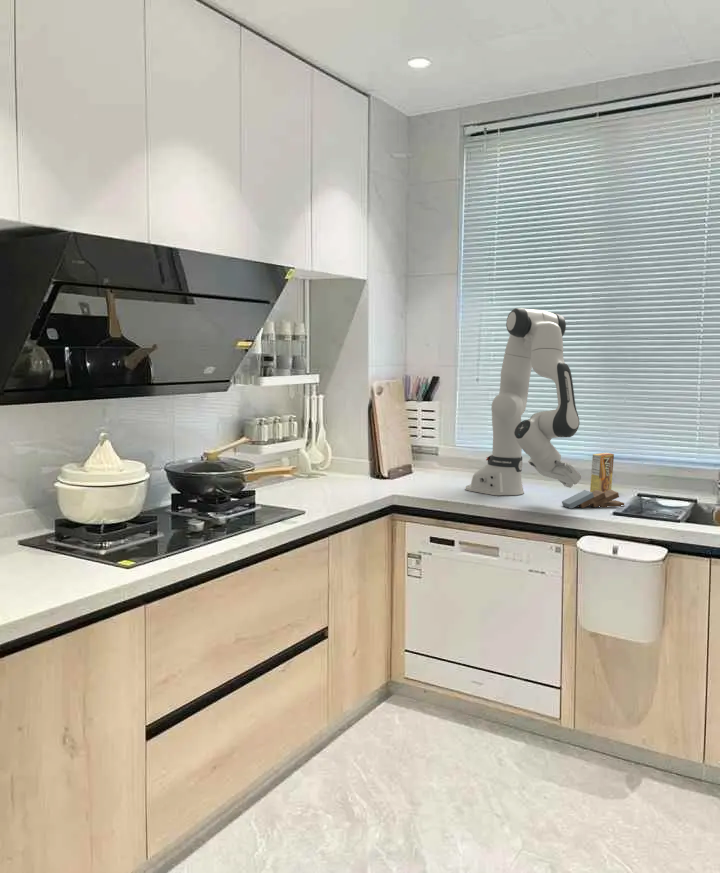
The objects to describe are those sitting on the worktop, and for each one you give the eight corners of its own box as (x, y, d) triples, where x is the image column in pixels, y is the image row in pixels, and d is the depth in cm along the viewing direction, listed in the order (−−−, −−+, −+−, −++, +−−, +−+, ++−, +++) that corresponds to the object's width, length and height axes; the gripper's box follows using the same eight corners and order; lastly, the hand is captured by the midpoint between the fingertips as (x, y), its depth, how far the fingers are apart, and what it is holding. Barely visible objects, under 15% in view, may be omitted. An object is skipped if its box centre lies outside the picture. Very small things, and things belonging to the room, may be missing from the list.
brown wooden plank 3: (593, 503, 279) (617, 492, 281) (586, 499, 284) (610, 489, 286) (594, 507, 280) (619, 497, 281) (587, 504, 285) (611, 493, 286)
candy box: (602, 490, 315) (605, 452, 313) (612, 492, 312) (614, 453, 310) (589, 492, 309) (591, 453, 307) (598, 494, 306) (601, 455, 304)
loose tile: (569, 504, 277) (592, 492, 279) (561, 501, 281) (584, 489, 284) (570, 508, 277) (594, 497, 279) (563, 506, 282) (586, 494, 284)
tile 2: (580, 503, 278) (604, 492, 280) (573, 501, 283) (596, 489, 285) (582, 508, 278) (605, 496, 280) (574, 505, 283) (597, 494, 285)
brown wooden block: (600, 504, 281) (624, 502, 284) (592, 501, 285) (615, 500, 289) (600, 509, 281) (624, 507, 284) (592, 506, 286) (615, 505, 289)
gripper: (571, 456, 264) (593, 484, 269) (536, 448, 283) (557, 474, 288) (560, 470, 263) (582, 497, 268) (525, 461, 282) (546, 487, 287)
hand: (569, 485), depth 278 cm, fingers closed
